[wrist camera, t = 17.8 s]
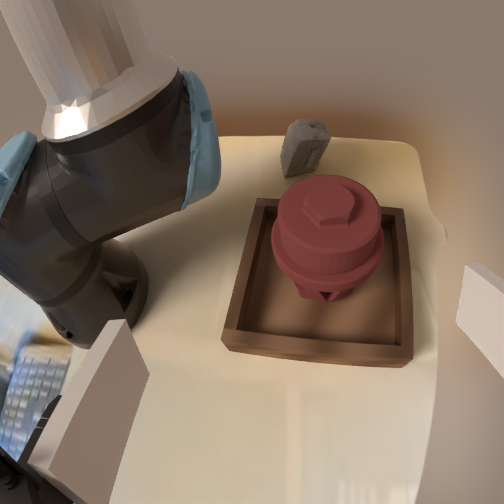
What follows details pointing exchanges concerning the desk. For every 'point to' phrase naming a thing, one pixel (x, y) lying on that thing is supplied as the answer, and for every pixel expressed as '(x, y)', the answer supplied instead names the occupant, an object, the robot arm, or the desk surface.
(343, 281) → the mechanical component
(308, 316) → the walnut tray
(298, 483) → the desk surface
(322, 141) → the mineral specimen
